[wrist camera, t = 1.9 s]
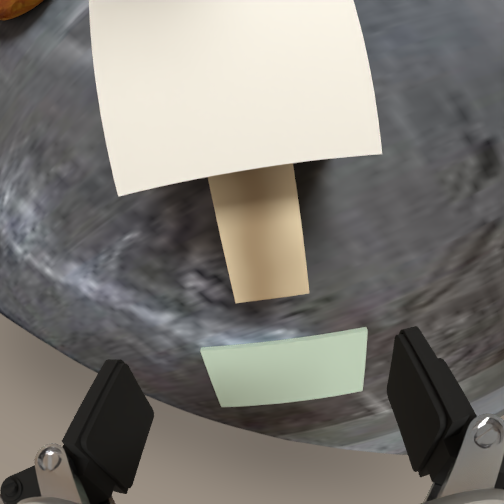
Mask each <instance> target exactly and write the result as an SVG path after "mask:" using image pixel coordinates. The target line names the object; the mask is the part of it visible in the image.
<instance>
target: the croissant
mask: <svg viewBox="0 0 504 504" xmlns="http://www.w3.org/2000/svg"><path fill="white" fill-rule="evenodd" d="M42 1H43V0H0V20H9V19H12V18H15V17H18V16H20V15H22V14H24V13H26V12H28V11H30V10H31V9H33V8H34V7H36V6H37V5H38V4H40V3H41V2H42Z"/></svg>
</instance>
